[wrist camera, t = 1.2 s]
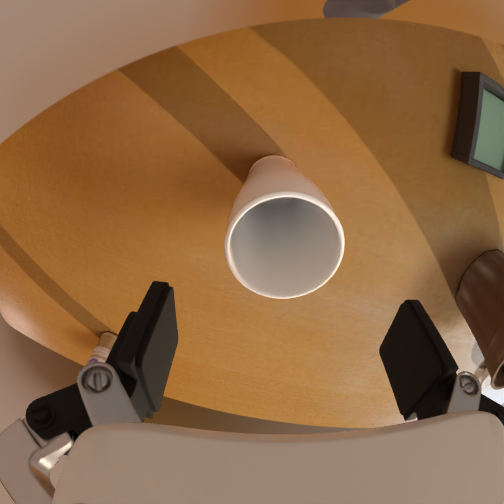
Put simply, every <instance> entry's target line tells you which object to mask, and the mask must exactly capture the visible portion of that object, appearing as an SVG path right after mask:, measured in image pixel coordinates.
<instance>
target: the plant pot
mask: <svg viewBox="0 0 504 504" xmlns="http://www.w3.org/2000/svg"><path fill="white" fill-rule="evenodd" d="M456 303H457V306H458V308H459V310H460V312H461V313H462V315H463V317H464V318H465V320H466V322H467V324H468V326H469V327H470V329H471V331H472V333H473V335H474V337H475V339H476V341H477V343H478V345H479V347H480V349H481V351H482V354H483V356H484V358H485V365H486V367H487V370H488V372H489V374H490V377H491V382H490V383H491V387H492V388H493V389H496V390H498V389H502V388H504V253H503V252H502V251H499V250H496V251H488V252H486V253H484V254H482V255H481V256H480V257H478V258H477V259H476V260H475V261H474V262H473V263H472V264H471V266H470V267H469V268H468V269H467V271H466V272H465V274H464V276H463V277H462V279H461V281H460V289H459V291H458V292H457V294H456Z"/></svg>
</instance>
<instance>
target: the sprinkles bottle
mask: <svg viewBox="0 0 504 504" xmlns="http://www.w3.org/2000/svg"><path fill="white" fill-rule="evenodd" d="M117 337H118V336H117V335H115V334H113V333H110V332H105V333H103V334H102V335H101V338H100V340H99V342H98V344H97V346H96V347H95V349H94V350H93V352H92V354H91V356H90V358H89V360H88V363H87V365H88V364H90V363H93V362H104V363H105V361H106V359H107V357H108V355H109V353H110V351H111V349H112V347H113V345H114V343H115V341H116V339H117Z"/></svg>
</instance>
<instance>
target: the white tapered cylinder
mask: <svg viewBox="0 0 504 504" xmlns="http://www.w3.org/2000/svg"><path fill="white" fill-rule="evenodd" d="M224 251H225V257H226V261H227V264H228V266H229V268H230V270H231V272H232V274H233V275H234V276H235V278H236V279H237V280H238V281H239V282H240V283H241V284H242V285H244V286H245V287H246V288H248V289H249V290H251V291H253V292H255V293H257V294H260V295H263V296H266V297H271V298H281V299H284V298H294V297H299V296H302V295H305V294H308V293H310V292H312V291H314V290H316V289H318V288H319V287H321V286H322V285H323V284H325V283H326V282H327V281H328V280H329V279H330V278H331V277H332V276H333V274H334V273H335V272H336V270H337V268H338V267H339V265H340V262H341V260H342V257H343V253H344V233H343V229H342V226H341V224H340V222H339V220H338V218H337V215H336V213H335V211H334V209H333V207H332V206H331V204H330V202H329V201H328V199H327V198H326V196H325V195H324V194H323V192H322V191H321V190H320V189H319V188H318V186H317V185H316V184H315V183H314V182H312V181H311V180H310V179H309V178H308V177H307V176H306V175H305V174H303V173H302V172H301V171H300V170H299V169H298V168H297V167H296V165H295V164H294V163H293V162H292V161H291V160H289V159H287V158H285V157H283V156H279V155H269V156H266V157H263V158H261V159H259V160H258V161H257V162H255V163H254V164H253V166H252V167H251V169H250V171H249V173H248V177H247V178H246V180H245V182H244V184H243V185H242V187H241V189H240V191H239V192H238V194H237V196H236V198H235V200H234V202H233V205H232V208H231V211H230V214H229V218H228V222H227V228H226V235H225V242H224Z"/></svg>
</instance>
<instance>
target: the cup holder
mask: <svg viewBox="0 0 504 504" xmlns="http://www.w3.org/2000/svg"><path fill="white" fill-rule="evenodd" d="M451 157H452V158H455V159H457V160H459V161H462V162H464V163H466V164H468V165H471V166H474V167H476V168H478V169H481V170H483V171H486V172H488V173H490V174H493V175H495V176H497V177H499V178H501V179H504V88H503V87H502V86H501V85H499V84H498V83H496V82H495V81H493V80H492V79H490V78H489V77H487V76H486V75H484V74H482V73H481V72H462V83H461V94H460V104H459V112H458V119H457V126H456V132H455V138H454V143H453V148H452V154H451Z"/></svg>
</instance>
